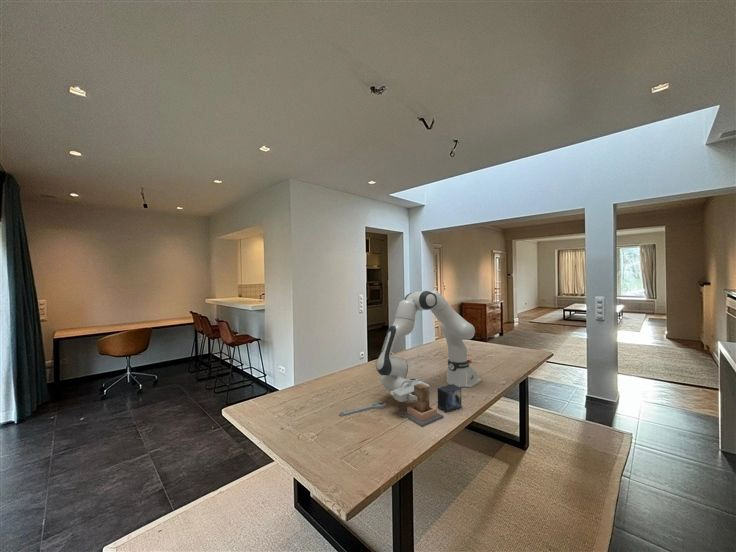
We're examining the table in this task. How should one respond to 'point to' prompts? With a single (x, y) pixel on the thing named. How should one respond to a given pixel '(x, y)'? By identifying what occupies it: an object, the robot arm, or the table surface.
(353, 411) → the adjustable wrench
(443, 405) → the small box
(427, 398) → the walnut block
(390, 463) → the table surface
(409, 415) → the dock
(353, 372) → the table surface
